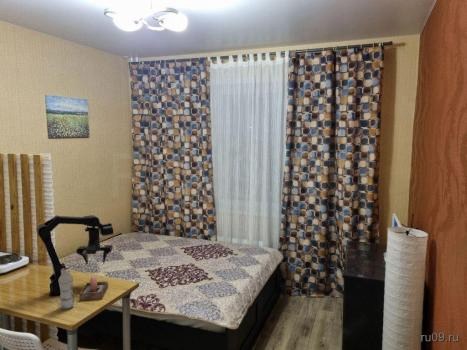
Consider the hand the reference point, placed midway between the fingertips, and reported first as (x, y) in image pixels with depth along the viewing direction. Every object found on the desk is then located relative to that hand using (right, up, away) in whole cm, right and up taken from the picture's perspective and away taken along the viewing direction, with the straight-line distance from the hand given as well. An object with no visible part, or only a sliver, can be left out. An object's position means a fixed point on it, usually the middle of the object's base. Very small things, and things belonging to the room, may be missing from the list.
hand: (95, 263), depth 195 cm
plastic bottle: (-3, -15, -26) cm, 31 cm away
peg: (+4, -13, -12) cm, 19 cm away
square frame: (+4, -13, -12) cm, 19 cm away
